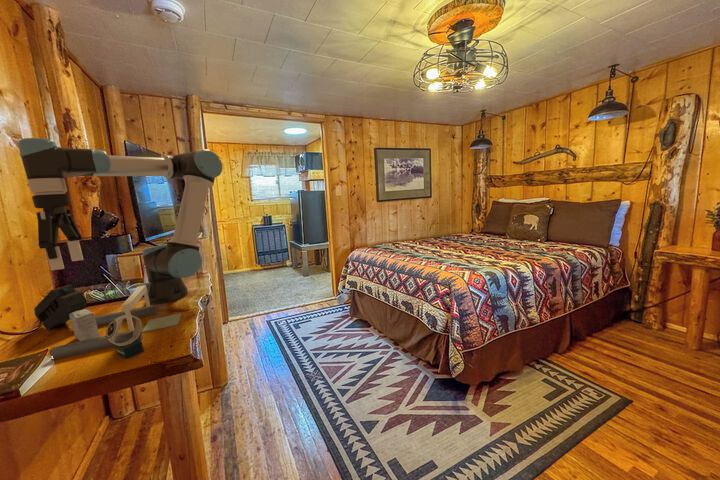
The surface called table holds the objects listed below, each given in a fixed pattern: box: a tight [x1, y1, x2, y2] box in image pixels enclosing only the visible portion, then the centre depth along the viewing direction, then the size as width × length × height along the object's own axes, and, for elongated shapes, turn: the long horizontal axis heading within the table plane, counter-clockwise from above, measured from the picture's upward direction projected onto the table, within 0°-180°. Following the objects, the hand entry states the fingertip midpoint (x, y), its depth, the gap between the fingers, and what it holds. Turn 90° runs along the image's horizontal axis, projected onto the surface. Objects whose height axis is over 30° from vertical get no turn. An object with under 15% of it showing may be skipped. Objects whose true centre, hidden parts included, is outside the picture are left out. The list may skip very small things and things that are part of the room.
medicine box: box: [69, 308, 101, 342], centre depth 95 cm, size 8×4×9 cm, turn 56°
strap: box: [120, 282, 151, 332], centre depth 100 cm, size 2×24×9 cm, turn 24°
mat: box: [142, 313, 183, 334], centre depth 103 cm, size 10×10×1 cm
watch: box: [105, 315, 145, 360], centre depth 83 cm, size 6×8×11 cm
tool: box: [33, 284, 88, 331], centre depth 105 cm, size 6×19×15 cm
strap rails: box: [48, 304, 158, 360], centre depth 98 cm, size 21×24×3 cm
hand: (68, 264), depth 91 cm, fingers open, 12 cm apart
